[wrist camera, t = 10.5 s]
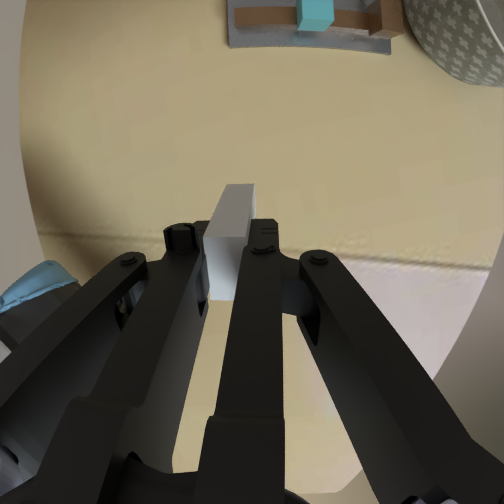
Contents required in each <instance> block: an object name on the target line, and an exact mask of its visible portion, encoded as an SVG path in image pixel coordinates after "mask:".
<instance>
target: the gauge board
mask: <svg viewBox="0 0 504 504" xmlns="http://www.w3.org/2000/svg"><path fill="white" fill-rule="evenodd" d="M227 3H228V30H229V48H230V49H231V48H249V47H312V48H329V49H342V50H353V51H362V52H370V53H377V54H384V55H390V54H391V38H393V37H395V36H398V35H401V34H403V33H404V29H403V15H402V5H401V1H399V0H333V8H334V21H333V22H332V23H331V25H330V26H329V27H328V28H327V29H326V30H325V31H306V30H298V28H297V9H296V0H227Z"/></svg>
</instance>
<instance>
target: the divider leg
mask: <svg viewBox="0 0 504 504" xmlns="http://www.w3.org/2000/svg"><path fill="white" fill-rule="evenodd" d="M296 9H297V28H298V30H306V31H325V30H326V29H327V28H328V27H329V26H330V25H331V23H332V22H333V21H334V8H333V0H296Z"/></svg>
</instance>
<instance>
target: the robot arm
mask: <svg viewBox="0 0 504 504" xmlns="http://www.w3.org/2000/svg"><path fill="white" fill-rule="evenodd" d="M163 233H164V239H165V244H166V250H167V251H166V252H165V254H164V256H163V258H162V259H161V260H157V261H151V262H146V257H145V255H144V254H143V253H140V252H127V253H125V254H123V255H120V256H118V257H117V258H115V259H114V260H113V261H112V262H110V263H109V264H108V265H107V266H106V267H104V268H103V269H102V270H101V271H100V272H98V273H97V274H96V275H95V276H94V277H92V278H91V279H90V280H89V281H88V282H87V283H85V284H84V285H83V286H81V285H80V284H79V283H78V280H77V279H76V278H73V277H72V276H71V275H70V274H69V273H68V272H67V271H66V270H65V269H64V268H63V267H62V266H61V264H59V263H58V262H56V261H54V260H47V261H44V262H42V263H40V264H39V265H37V266H35V267H34V268H32V269H31V270H30V271H28V272H27V273H26V274H24V275H23V276H22V277H21V278H19V279H18V280H17V281H16V282H15V283H13V284H12V285H11V286H10V287H9V288H8V289H7V290H6V291H5V292H4V293H3V294H2V295H1V296H0V504H309V503H308V502H307V501H306V500H304V499H303V498H301V497H300V496H298V495H296V494H295V493H293V492H291V491H289V490H287V489H285V420H284V412H283V337H282V313H286V314H291V315H295V316H297V317H296V318H297V323H298V325H299V327H300V329H301V332H302V334H303V336H304V338H305V340H306V342H307V345H308V347H309V349H310V351H311V353H312V356H313V358H314V360H315V362H316V364H317V367H318V369H319V371H320V373H321V375H322V378H323V380H324V382H325V384H326V387H327V389H328V391H329V393H330V395H331V398H332V400H333V402H334V404H335V407H336V409H337V411H338V413H339V415H340V418H341V420H342V422H343V424H344V427H345V429H346V431H347V433H348V436H349V438H350V440H351V442H352V445H353V447H354V449H355V451H356V454H357V456H358V458H359V460H360V463H361V465H362V467H363V470H364V472H365V474H366V476H367V479H368V481H369V483H370V485H371V487H372V490H373V492H374V494H375V496H376V498H377V499H378V502H379V504H504V464H503V463H502V462H501V461H499V460H498V459H497V458H496V457H494V456H493V455H492V454H490V453H489V452H488V451H487V450H485V449H484V448H483V447H482V446H480V445H479V444H478V443H476V442H475V441H474V440H473V439H472V438H471V437H470V435H469V434H468V432H467V431H466V429H465V428H464V426H463V425H462V423H461V422H460V420H459V419H458V417H457V416H456V414H455V413H454V411H453V410H452V408H451V407H450V405H449V404H448V402H447V401H446V399H445V398H444V396H443V395H442V394H441V392H440V391H439V389H438V388H437V386H436V385H435V384H434V382H433V381H432V379H431V378H430V377H429V375H428V374H427V372H426V371H425V370H424V368H423V367H422V365H421V364H420V363H419V361H418V360H417V359H416V357H415V356H414V354H413V353H412V352H411V350H410V349H409V348H408V346H407V345H406V344H405V342H404V341H403V340H402V338H401V337H400V336H399V334H398V333H397V332H396V330H395V329H394V328H393V326H392V325H391V324H390V323H389V321H388V320H387V319H386V317H385V316H384V315H383V314H382V312H381V311H380V310H379V308H378V307H377V306H376V305H375V303H374V302H373V301H372V300H371V298H370V297H369V296H368V294H367V293H366V292H365V291H364V289H363V288H362V287H361V286H360V285H359V283H358V282H357V281H356V280H355V278H354V277H353V276H352V275H351V273H350V272H349V271H348V270H347V269H346V267H345V266H344V265H343V264H342V263H341V261H340V260H339V259H338V258H337V257H336V256H335V255H334V254H333V253H330V252H328V251H325V250H319V249H318V250H310V251H306V252H304V253H303V254H301V256H300V259H299V260H297V259H293V258H289V257H287V256H285V255H283V254H282V253H281V252H280V249H279V234H278V223H277V222H276V221H275V220H274V219H256V211H255V184H227V185H226V187H225V189H224V191H223V194H222V196H221V198H220V200H219V202H218V204H217V207H216V209H215V211H214V213H213V216H212V218H211V220H209V221H196V222H194V223H193V224H192V223H178V224H174V225H171V226H169V227H167V228H165V229H164V230H163ZM209 291H210V299H211V300H234V302H233V308H232V314H231V319H230V325H229V331H228V337H227V343H226V348H225V354H224V360H223V366H222V372H221V378H220V384H219V390H218V396H217V402H216V408H215V412H214V415H213V416H209V418H208V420H207V424H206V428H205V433H204V438H203V444H202V449H201V455H200V461H199V466H198V471H195V472H184V473H173V468H172V455H173V451H174V446H175V442H176V437H177V433H178V429H179V424H180V420H181V416H182V412H183V408H184V403H185V399H186V395H187V391H188V387H189V383H190V379H191V374H192V370H193V366H194V362H195V358H196V354H197V350H198V346H199V343H200V339H201V335H202V331H203V327H204V323H205V319H206V315H207V312H208V299H207V295H208V292H209Z"/></svg>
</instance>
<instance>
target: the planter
mask: <svg viewBox="0 0 504 504" xmlns="http://www.w3.org/2000/svg"><path fill="white" fill-rule="evenodd" d="M404 6H405V11H406V15H407V18H408V21H409V24H410V26H411V28H412V31H413V33H414V35H415V36H416V38H417V40H418V42H419V43H420V45H421V46H422V48H423V49H424V50H425V52H426V53H427V54H428V55H429V57H430V58H431V59H432V60H433V61H434V62H435V63H436V64H437V65H438V66H439V67H440V68H442V69H443V70H444V71H445V72H447V73H448V74H449V75H451V76H453V77H454V78H456V79H458V80H460V81H463V82H465V83H468V84H472V85H481V86H491V87H500V88H504V0H404Z"/></svg>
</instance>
